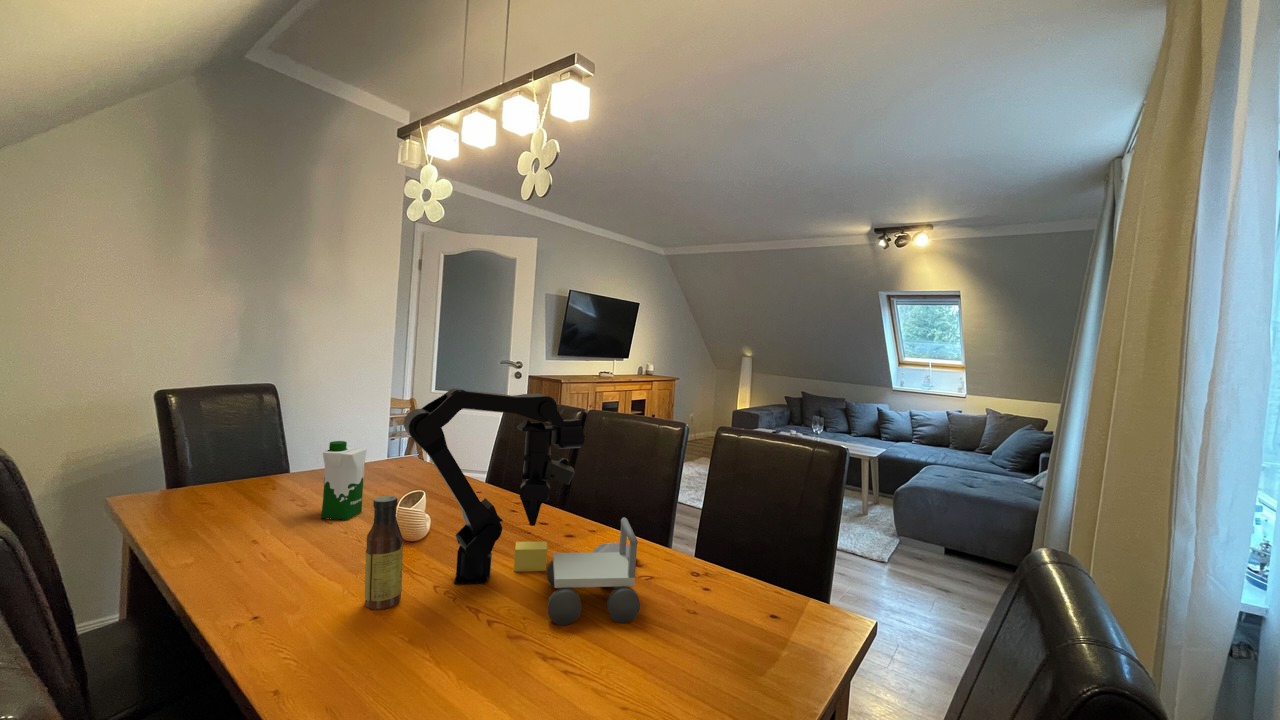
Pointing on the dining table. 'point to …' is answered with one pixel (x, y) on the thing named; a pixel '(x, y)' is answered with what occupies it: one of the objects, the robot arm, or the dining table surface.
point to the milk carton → (343, 481)
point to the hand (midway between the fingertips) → (532, 518)
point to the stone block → (611, 548)
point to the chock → (530, 556)
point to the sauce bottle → (384, 556)
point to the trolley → (595, 580)
